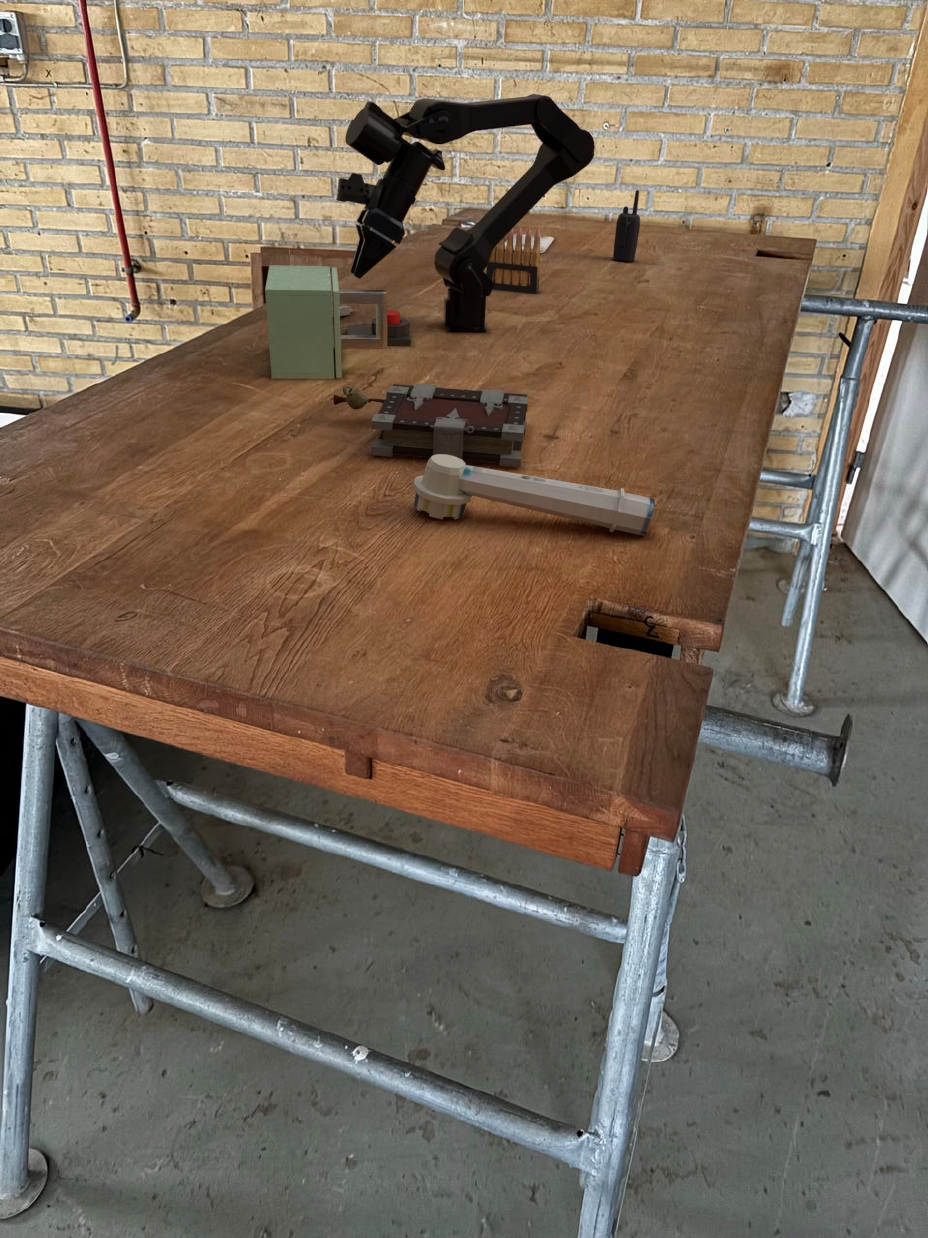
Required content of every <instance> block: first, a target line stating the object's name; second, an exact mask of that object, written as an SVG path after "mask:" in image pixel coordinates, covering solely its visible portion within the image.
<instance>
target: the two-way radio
mask: <svg viewBox="0 0 928 1238" xmlns="http://www.w3.org/2000/svg"><path fill="white" fill-rule="evenodd" d="M639 198H640V190H639V189H636V190H635V193H634V199H633V206H632V212H631V213H630V212H629V206H624V207H623V209H622V212H621V213H619V215H618V217H617V220H616V225H615V234H614V242H613V254H612V259H614V260H615V261H621V262H622V261H623V262H627V263H631V262H634V261H635V259H636V253H637V247H638V241H639V234H640V228H641V217H640V215H639V214H638V206H639Z"/></svg>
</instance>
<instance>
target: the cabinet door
mask: <svg viewBox="0 0 928 1238" xmlns="http://www.w3.org/2000/svg"><path fill="white" fill-rule="evenodd" d="M331 293H332V307H333V317H332V322H333V350H334V368H335V378H336V379H342V350H386V349H388V346H387V310H388V291H387V290H385V289H340V287H339V276H338V267H336V266H332V267H331ZM340 305H375V318H376V335H347V334H341V316H340V311H339V306H340Z"/></svg>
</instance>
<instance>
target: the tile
mask: <svg viewBox="0 0 928 1238" xmlns="http://www.w3.org/2000/svg"><path fill="white" fill-rule="evenodd" d="M513 236H514V237H513V247H514V249H515V244H516V236H517V233H513ZM525 237H526V233H525V234H523V233H522V253H523V250H524V244H525ZM534 238H535V234H531V254H532V250H533V245H534ZM554 240H555V237H553V236H547V235H540V254H542V253H545V252H546V250H548V248H549V247H550V245H551V244H552V243H553V242H554ZM506 246H507V239H506V240H505V251H506Z"/></svg>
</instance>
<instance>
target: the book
mask: <svg viewBox="0 0 928 1238" xmlns="http://www.w3.org/2000/svg"><path fill="white" fill-rule="evenodd" d="M341 389H342V393H343V395H345V397H344V396H341V395H337V394H333V398H332V400H333V405H334V406H337V405H339V404H342V403H347V405H348V406H349V407H350V408H351V409H352V410H355V411H358V410H360V409H363V408H364V407H365V405H367V404H368V403H371V402H375V403H380V404H381V406H380V408H379V410H378V412H377V413H374V415H373V416H372V418H371V420H370V429H371V430H378V431H381V432H380V434H379V436H378V438H375V439H374V441H373V443H372V445H371V456H377V457H379V456H380V457H389V458H391V457H393V456H394V455H395V456H405V457H417V458H418V457H420V458H428V459H430V458H431V457H432V456H433V455H437V454H446V455H451V456H455V457H457V458H459V459H462V460H463V461H464V462H465V461H466V462H477V463H490V464H499V466H500V467H511V468H521V466H522V458H523V451H522V448H523V442H524V437H526V432H527V423H528V422H527V421H526V418H527V412H528V407H529V397H530V396H528V394H525V393H524V394H523V393H512V392H511V393H510V392H507V391H505V390H504V389H493V388H492V389H490V388H489V389H488V388H482V389H479V390H474V389H461V388H449V387H448V388H447V387H441V386H437V384H429V383H428V384H427V383H414V384H411V385H410V384H407V385H405V384H397V383H393V384H392V385H390V386H389V387H388V388H387V391H386V397H385V399H384V398H383V399H382V398H373V397H372V398H371V397H370V398H368V396H367V395H366V394H365V392H364V390H363V389H362V388H360V387H358V386H347V385H342V388H341Z"/></svg>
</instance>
